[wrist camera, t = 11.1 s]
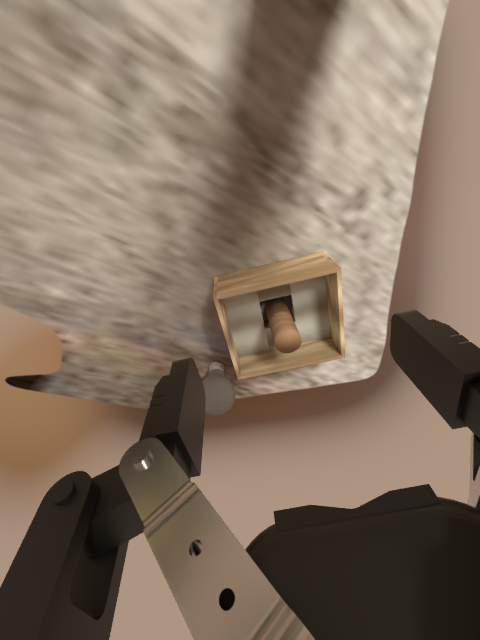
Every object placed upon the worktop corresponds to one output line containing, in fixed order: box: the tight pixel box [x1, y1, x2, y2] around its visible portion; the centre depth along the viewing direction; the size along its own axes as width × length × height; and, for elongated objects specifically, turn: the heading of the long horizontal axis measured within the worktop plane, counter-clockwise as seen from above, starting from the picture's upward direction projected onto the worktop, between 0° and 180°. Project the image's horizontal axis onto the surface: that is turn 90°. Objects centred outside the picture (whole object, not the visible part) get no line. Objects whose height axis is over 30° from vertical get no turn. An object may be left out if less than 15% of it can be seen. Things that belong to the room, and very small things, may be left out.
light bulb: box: [202, 362, 235, 415], centre depth 45 cm, size 6×6×10 cm
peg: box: [265, 297, 302, 353], centre depth 40 cm, size 3×3×10 cm
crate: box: [213, 251, 345, 380], centre depth 41 cm, size 14×16×7 cm
